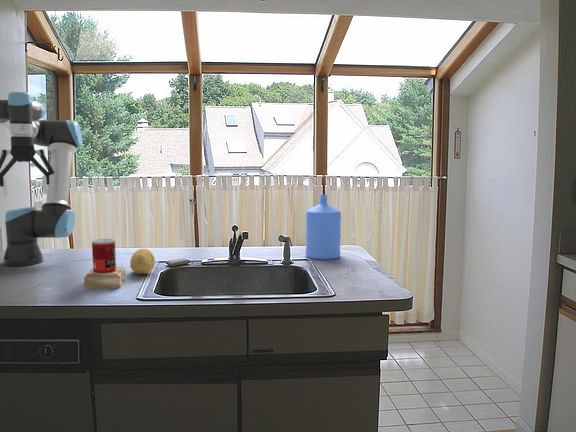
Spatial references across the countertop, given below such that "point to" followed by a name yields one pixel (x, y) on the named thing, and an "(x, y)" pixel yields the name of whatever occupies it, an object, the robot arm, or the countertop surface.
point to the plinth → (104, 279)
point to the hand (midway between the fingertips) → (25, 194)
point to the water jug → (323, 231)
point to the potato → (142, 261)
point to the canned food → (104, 255)
